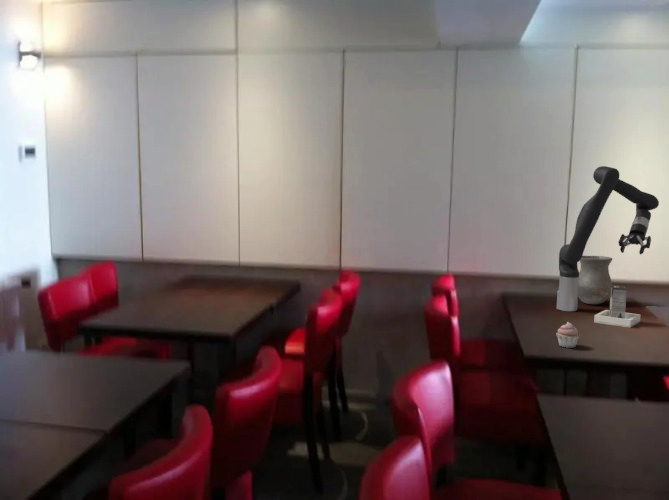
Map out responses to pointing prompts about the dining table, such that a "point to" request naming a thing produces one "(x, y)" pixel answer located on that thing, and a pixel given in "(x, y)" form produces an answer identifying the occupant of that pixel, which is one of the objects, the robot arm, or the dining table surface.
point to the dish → (617, 319)
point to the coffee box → (618, 301)
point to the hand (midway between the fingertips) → (631, 252)
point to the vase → (594, 279)
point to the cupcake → (567, 336)
